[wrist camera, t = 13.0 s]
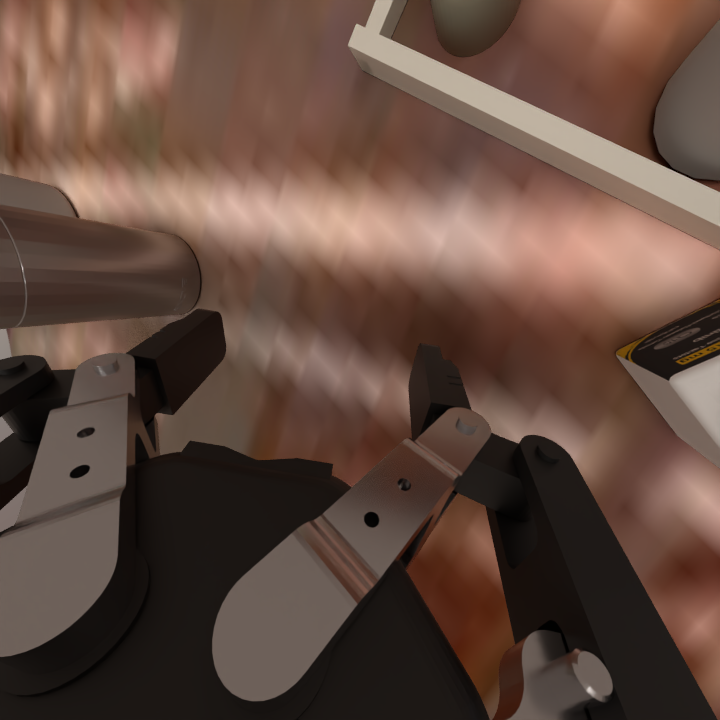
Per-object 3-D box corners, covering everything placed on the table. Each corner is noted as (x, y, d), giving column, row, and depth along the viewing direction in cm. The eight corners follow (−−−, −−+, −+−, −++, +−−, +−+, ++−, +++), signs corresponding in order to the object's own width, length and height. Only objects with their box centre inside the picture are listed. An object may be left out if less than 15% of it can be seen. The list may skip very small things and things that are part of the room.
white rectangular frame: (361, 70, 22) (330, 14, 18) (454, -152, 18) (442, -303, 13) (747, 263, 17) (843, 254, 12) (1029, 11, 12) (1353, -154, 7)
